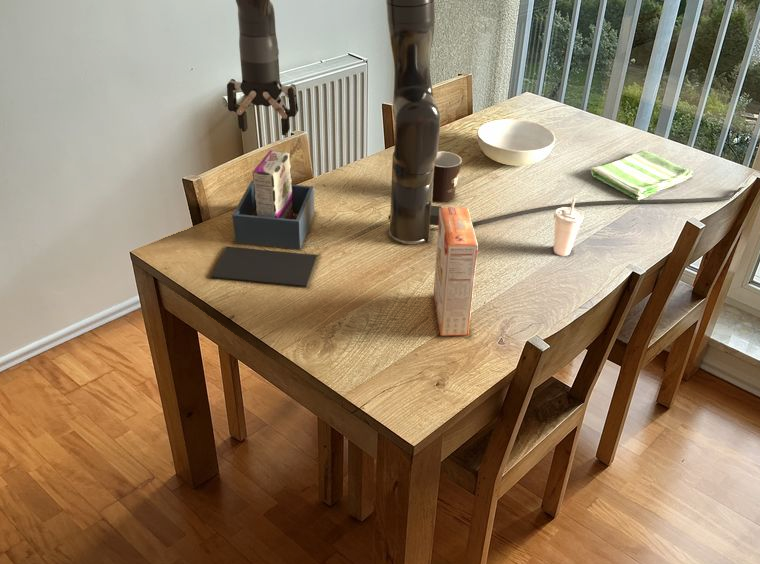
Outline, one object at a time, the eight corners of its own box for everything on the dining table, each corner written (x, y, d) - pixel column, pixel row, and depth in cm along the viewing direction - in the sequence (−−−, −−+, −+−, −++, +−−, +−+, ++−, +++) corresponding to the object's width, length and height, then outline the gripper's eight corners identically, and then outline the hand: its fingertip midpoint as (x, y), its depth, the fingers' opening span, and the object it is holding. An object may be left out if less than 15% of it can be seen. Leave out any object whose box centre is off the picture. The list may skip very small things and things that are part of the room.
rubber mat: (317, 256, 175) (317, 255, 175) (306, 287, 166) (306, 285, 166) (226, 247, 176) (226, 246, 176) (210, 278, 167) (210, 276, 166)
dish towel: (693, 179, 216) (696, 169, 214) (638, 202, 204) (641, 192, 202) (640, 154, 226) (642, 145, 224) (585, 175, 214) (587, 166, 212)
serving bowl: (500, 135, 231) (502, 112, 227) (564, 156, 222) (568, 133, 218) (460, 158, 218) (462, 134, 213) (527, 182, 209) (530, 158, 204)
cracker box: (431, 295, 166) (438, 205, 153) (460, 295, 167) (469, 205, 154) (438, 337, 155) (446, 243, 142) (468, 336, 156) (479, 244, 143)
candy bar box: (273, 214, 189) (269, 149, 178) (294, 217, 188) (291, 152, 178) (256, 238, 180) (251, 170, 170) (278, 241, 179) (274, 174, 169)
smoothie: (558, 261, 179) (569, 205, 171) (542, 247, 184) (552, 192, 175) (581, 255, 182) (593, 200, 173) (565, 241, 186) (575, 187, 178)
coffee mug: (439, 208, 195) (442, 170, 189) (416, 194, 200) (418, 157, 194) (473, 195, 202) (478, 158, 195) (450, 182, 207) (454, 145, 200)
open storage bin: (314, 213, 190) (313, 186, 186) (300, 249, 177) (299, 221, 173) (253, 207, 191) (251, 180, 186) (234, 243, 178) (232, 215, 173)
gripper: (218, 58, 157) (226, 136, 167) (290, 64, 157) (294, 142, 167) (229, 45, 163) (236, 122, 173) (298, 51, 162) (301, 128, 173)
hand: (264, 132), depth 170 cm, fingers open, 8 cm apart
